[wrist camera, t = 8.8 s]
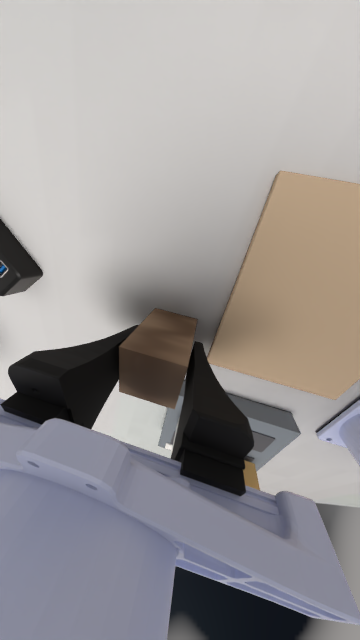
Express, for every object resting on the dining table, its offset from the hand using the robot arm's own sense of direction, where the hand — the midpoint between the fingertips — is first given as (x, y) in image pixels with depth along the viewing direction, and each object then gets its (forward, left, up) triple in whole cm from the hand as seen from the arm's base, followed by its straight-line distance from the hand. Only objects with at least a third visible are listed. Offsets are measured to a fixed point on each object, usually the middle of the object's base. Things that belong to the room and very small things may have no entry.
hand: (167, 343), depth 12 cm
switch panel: (-8, +12, -2) cm, 15 cm away
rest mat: (-10, -5, -2) cm, 11 cm away
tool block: (0, 0, -2) cm, 2 cm away
